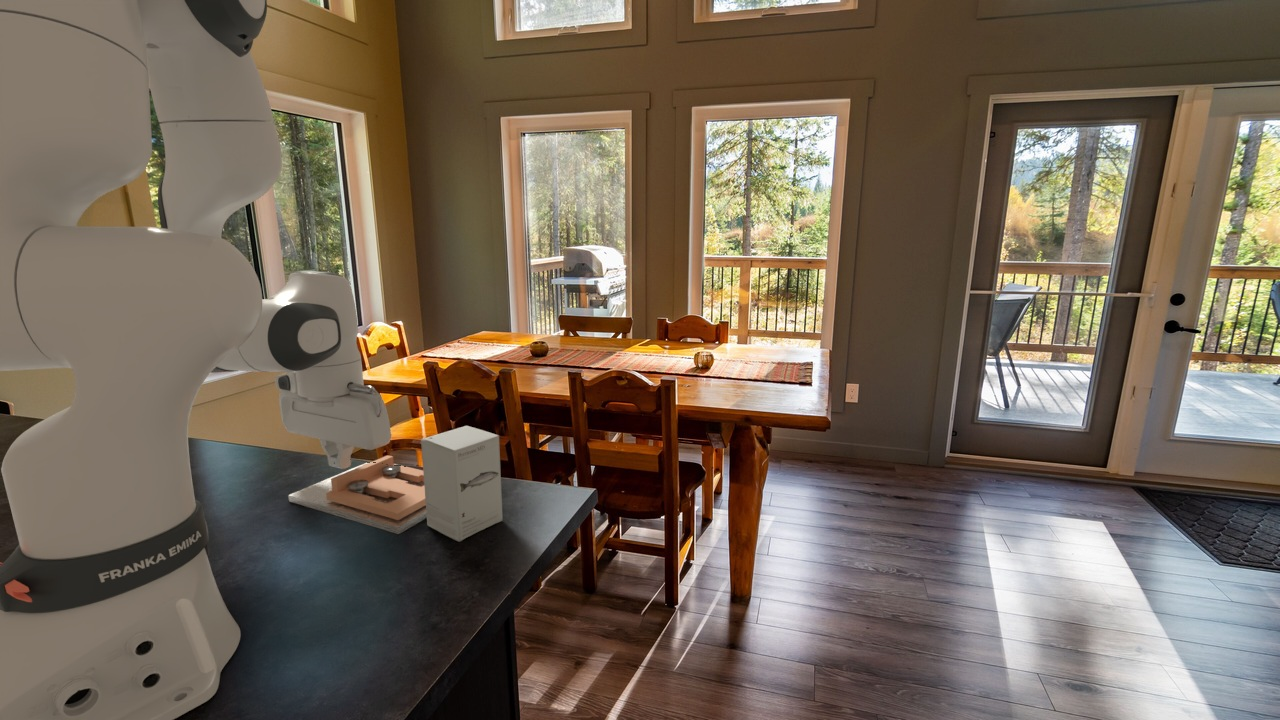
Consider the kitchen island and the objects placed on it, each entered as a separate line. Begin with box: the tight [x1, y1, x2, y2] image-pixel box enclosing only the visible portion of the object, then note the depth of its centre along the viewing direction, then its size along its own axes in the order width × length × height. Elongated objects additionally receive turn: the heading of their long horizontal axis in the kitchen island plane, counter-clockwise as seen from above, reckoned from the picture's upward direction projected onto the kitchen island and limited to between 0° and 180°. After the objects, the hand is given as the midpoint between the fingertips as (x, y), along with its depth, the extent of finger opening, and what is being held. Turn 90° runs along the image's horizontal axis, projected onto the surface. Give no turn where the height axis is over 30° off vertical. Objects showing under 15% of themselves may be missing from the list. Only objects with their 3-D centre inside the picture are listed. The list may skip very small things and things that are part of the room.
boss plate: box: [287, 462, 427, 535], centre depth 85 cm, size 14×22×3 cm, turn 65°
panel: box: [326, 455, 426, 520], centre depth 84 cm, size 12×14×3 cm
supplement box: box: [420, 425, 504, 543], centre depth 76 cm, size 7×7×13 cm
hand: (340, 466), depth 88 cm, fingers closed
